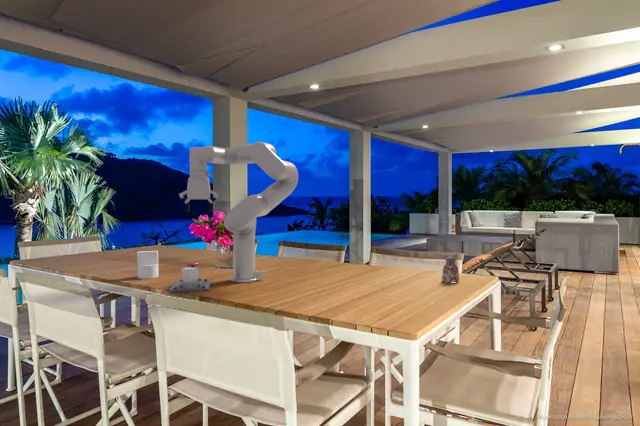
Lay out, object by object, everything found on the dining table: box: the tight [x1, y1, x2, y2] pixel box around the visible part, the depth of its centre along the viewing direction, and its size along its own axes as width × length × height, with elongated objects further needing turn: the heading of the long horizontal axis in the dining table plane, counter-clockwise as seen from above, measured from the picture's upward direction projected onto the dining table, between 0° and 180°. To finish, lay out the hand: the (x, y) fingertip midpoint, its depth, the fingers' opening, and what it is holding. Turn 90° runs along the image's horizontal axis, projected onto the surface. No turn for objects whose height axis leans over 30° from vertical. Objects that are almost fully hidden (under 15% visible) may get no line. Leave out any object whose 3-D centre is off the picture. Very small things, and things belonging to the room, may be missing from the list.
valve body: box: [168, 262, 212, 293], centre depth 186 cm, size 15×19×9 cm
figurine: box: [441, 253, 460, 283], centre depth 194 cm, size 7×7×12 cm
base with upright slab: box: [136, 250, 159, 280], centre depth 208 cm, size 9×9×12 cm
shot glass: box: [181, 266, 200, 283], centre depth 184 cm, size 7×7×7 cm
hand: (199, 212), depth 204 cm, fingers open, 9 cm apart
